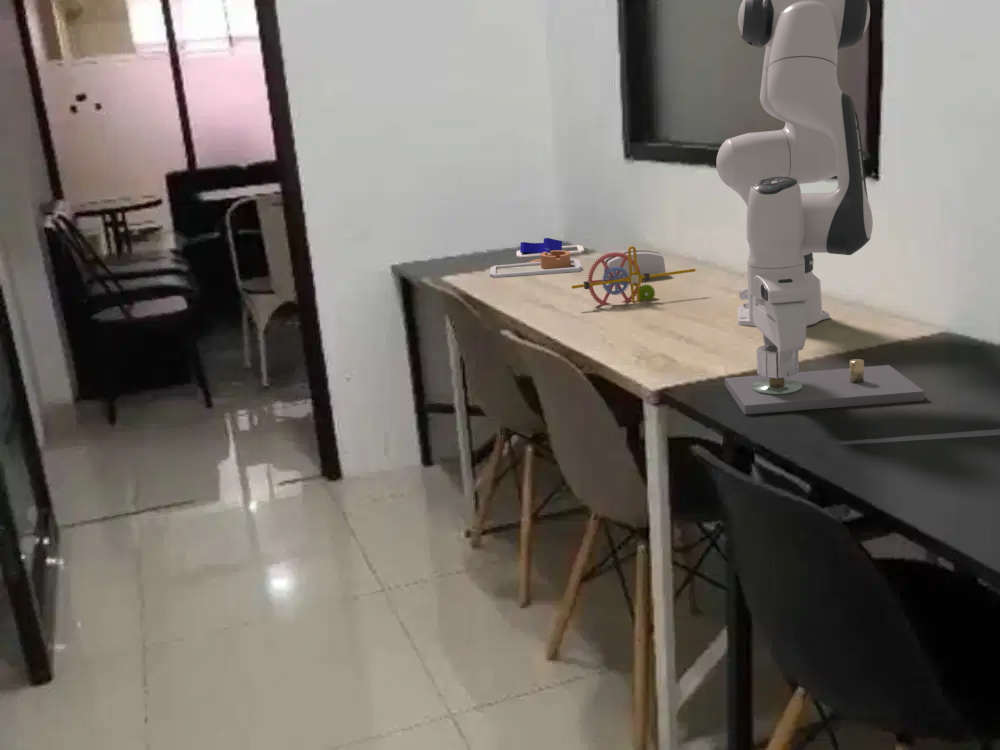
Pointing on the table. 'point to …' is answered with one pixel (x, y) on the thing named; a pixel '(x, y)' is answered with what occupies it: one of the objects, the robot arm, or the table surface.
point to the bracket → (554, 259)
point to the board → (827, 390)
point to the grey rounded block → (639, 263)
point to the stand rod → (856, 371)
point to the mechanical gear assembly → (623, 279)
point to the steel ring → (774, 362)
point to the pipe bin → (535, 272)
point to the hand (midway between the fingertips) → (777, 365)
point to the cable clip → (541, 246)
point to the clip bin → (519, 254)
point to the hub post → (776, 386)
